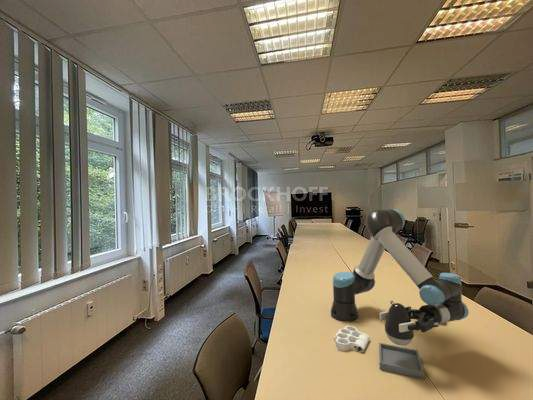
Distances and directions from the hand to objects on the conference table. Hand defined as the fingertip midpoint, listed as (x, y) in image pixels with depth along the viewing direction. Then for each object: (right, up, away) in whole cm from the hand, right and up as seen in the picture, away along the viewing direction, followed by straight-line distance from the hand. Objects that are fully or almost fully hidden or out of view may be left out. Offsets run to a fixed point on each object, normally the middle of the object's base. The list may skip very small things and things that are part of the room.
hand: (389, 322), depth 97 cm
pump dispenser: (+4, -9, +1) cm, 10 cm away
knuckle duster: (-10, -18, +17) cm, 26 cm away
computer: (+39, -17, +37) cm, 56 cm away
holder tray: (+5, -17, +1) cm, 17 cm away
